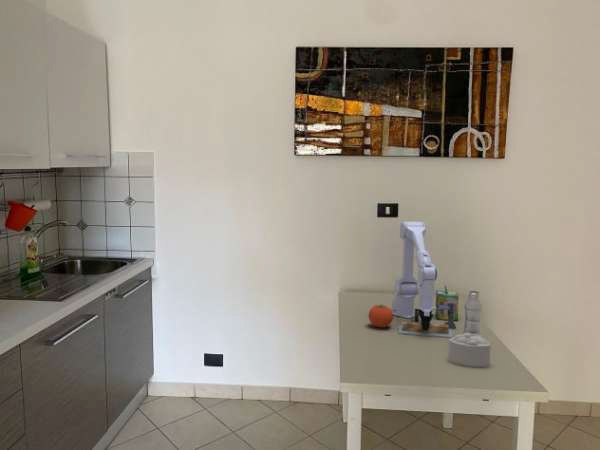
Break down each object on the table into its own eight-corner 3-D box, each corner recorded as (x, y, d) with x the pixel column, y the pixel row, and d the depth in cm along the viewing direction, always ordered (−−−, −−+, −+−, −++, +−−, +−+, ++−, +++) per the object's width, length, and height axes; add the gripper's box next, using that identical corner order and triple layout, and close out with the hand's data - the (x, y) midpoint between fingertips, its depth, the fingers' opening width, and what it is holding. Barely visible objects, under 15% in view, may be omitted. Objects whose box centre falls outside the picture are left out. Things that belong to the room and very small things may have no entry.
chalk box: (457, 321, 211) (459, 288, 210) (436, 319, 213) (437, 287, 211) (455, 315, 220) (457, 284, 219) (434, 314, 222) (436, 282, 220)
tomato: (397, 327, 201) (398, 303, 200) (383, 332, 194) (384, 308, 193) (377, 321, 208) (377, 299, 207) (363, 326, 201) (364, 303, 200)
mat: (398, 333, 192) (398, 332, 192) (398, 327, 201) (398, 325, 201) (452, 338, 188) (452, 336, 188) (450, 331, 197) (450, 329, 197)
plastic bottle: (479, 341, 185) (482, 291, 183) (480, 347, 178) (483, 294, 176) (462, 339, 187) (464, 289, 185) (462, 345, 180) (464, 293, 178)
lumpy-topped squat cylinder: (491, 367, 160) (493, 342, 159) (452, 365, 160) (453, 340, 160) (481, 355, 170) (483, 332, 169) (444, 354, 171) (445, 330, 170)
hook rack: (411, 325, 203) (412, 312, 203) (411, 321, 210) (411, 308, 209) (455, 329, 200) (456, 315, 199) (454, 324, 206) (454, 311, 205)
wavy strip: (402, 330, 195) (402, 323, 195) (402, 328, 198) (402, 321, 198) (448, 334, 191) (448, 327, 191) (447, 331, 194) (448, 324, 194)
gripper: (438, 301, 185) (436, 335, 187) (435, 292, 200) (433, 324, 201) (419, 299, 187) (417, 333, 188) (417, 291, 201) (416, 322, 202)
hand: (424, 328), depth 195 cm, fingers open, 3 cm apart
